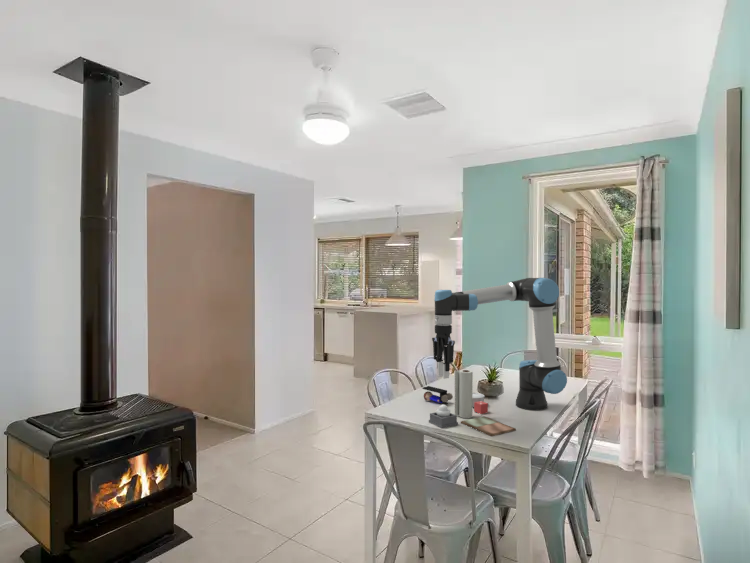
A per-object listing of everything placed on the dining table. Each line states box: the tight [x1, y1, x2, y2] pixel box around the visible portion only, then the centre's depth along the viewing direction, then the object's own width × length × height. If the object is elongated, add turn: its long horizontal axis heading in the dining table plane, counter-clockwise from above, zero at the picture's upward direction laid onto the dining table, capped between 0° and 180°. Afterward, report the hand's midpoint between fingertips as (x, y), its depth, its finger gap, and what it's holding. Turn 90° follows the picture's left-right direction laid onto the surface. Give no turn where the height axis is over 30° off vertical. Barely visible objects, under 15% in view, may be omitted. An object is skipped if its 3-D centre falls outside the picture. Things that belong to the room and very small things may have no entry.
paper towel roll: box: [454, 369, 474, 419], centre depth 210 cm, size 7×6×21 cm
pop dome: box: [435, 403, 451, 417], centre depth 200 cm, size 6×6×5 cm
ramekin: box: [472, 391, 486, 407], centre depth 229 cm, size 11×11×5 cm
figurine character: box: [422, 385, 454, 405], centre depth 233 cm, size 7×8×15 cm
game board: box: [460, 416, 517, 437], centre depth 196 cm, size 14×19×1 cm
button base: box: [428, 411, 459, 429], centre depth 200 cm, size 9×9×4 cm
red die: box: [473, 401, 489, 415], centre depth 217 cm, size 4×4×5 cm
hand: (443, 377), depth 200 cm, fingers open, 3 cm apart
